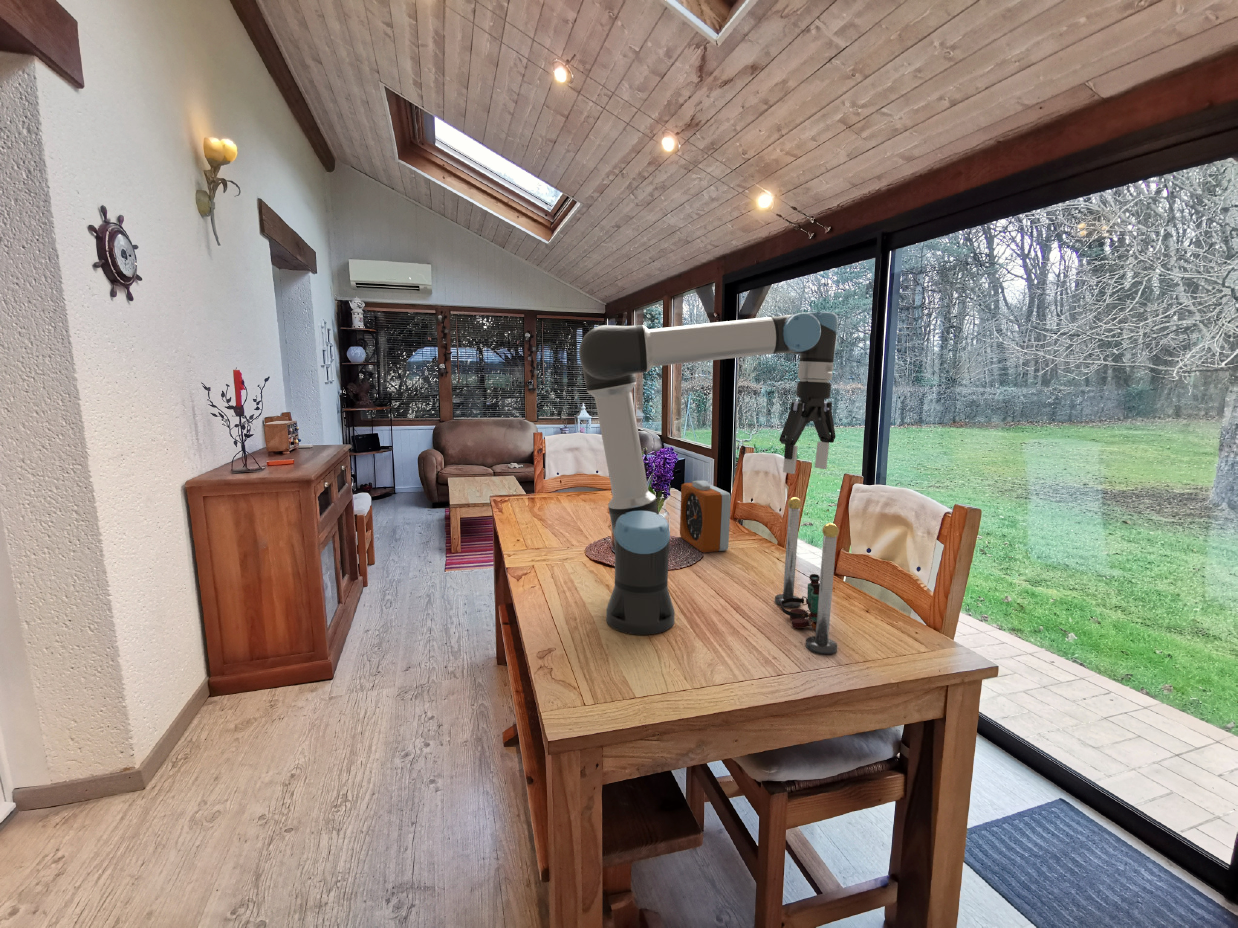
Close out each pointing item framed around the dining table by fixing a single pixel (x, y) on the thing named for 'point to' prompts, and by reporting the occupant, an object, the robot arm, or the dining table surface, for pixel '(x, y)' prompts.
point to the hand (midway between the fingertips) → (805, 470)
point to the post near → (825, 595)
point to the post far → (790, 555)
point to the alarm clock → (705, 516)
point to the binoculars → (811, 600)
